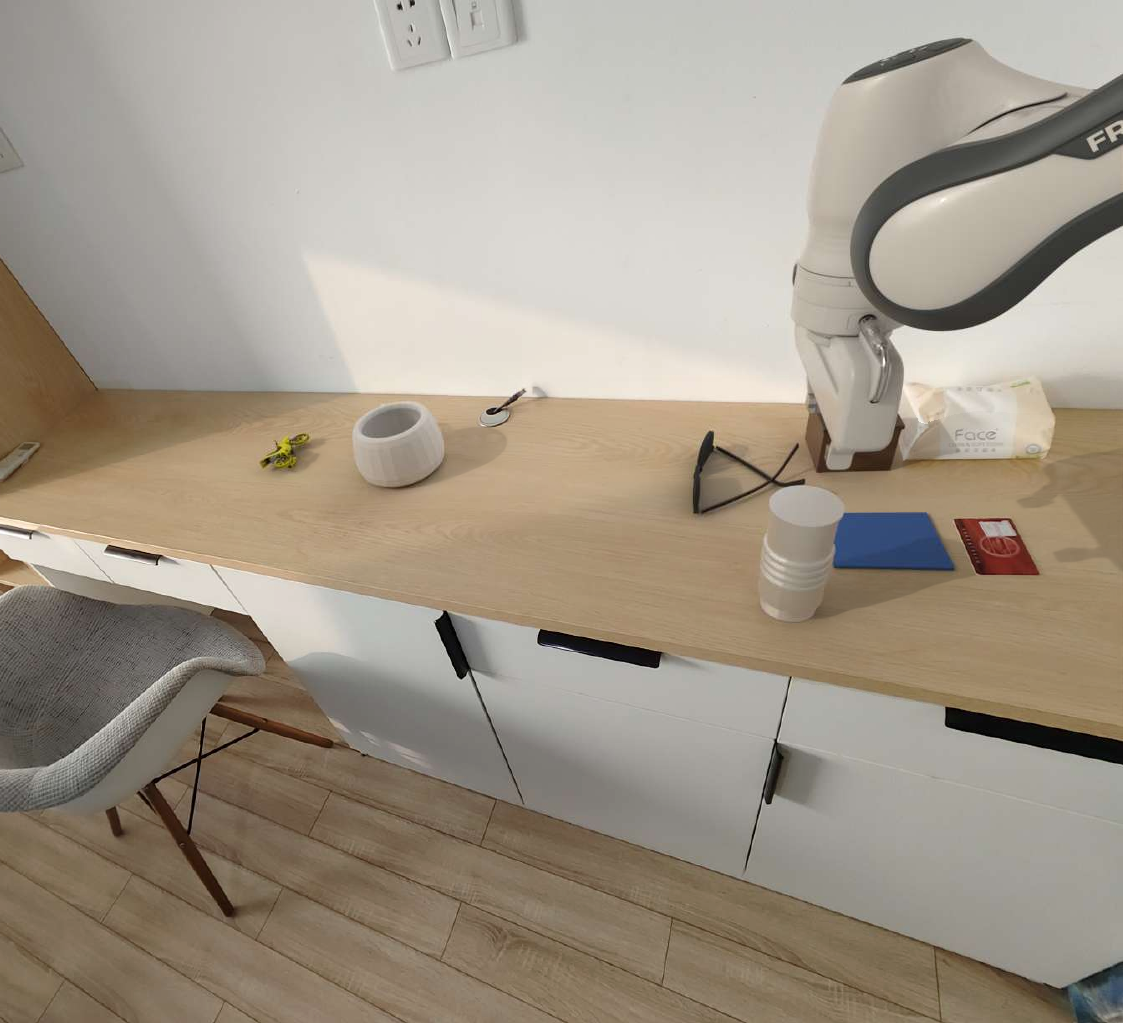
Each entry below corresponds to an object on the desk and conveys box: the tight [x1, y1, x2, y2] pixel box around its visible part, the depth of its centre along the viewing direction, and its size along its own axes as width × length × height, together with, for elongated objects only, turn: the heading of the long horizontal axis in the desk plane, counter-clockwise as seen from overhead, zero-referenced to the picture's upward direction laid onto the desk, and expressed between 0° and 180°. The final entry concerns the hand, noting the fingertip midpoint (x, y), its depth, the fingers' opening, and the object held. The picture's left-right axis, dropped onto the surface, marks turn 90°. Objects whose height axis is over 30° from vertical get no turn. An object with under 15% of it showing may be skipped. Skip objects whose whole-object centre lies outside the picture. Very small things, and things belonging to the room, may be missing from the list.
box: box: [804, 412, 906, 473], centre depth 87 cm, size 9×9×8 cm
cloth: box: [832, 511, 956, 571], centre depth 76 cm, size 12×10×1 cm
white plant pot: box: [351, 400, 446, 488], centre depth 112 cm, size 21×17×10 cm
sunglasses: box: [692, 430, 806, 515], centre depth 88 cm, size 17×14×5 cm
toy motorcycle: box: [259, 432, 311, 470], centre depth 124 cm, size 12×4×7 cm
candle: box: [756, 484, 845, 623], centre depth 67 cm, size 7×7×15 cm
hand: (825, 435), depth 58 cm, fingers open, 8 cm apart
